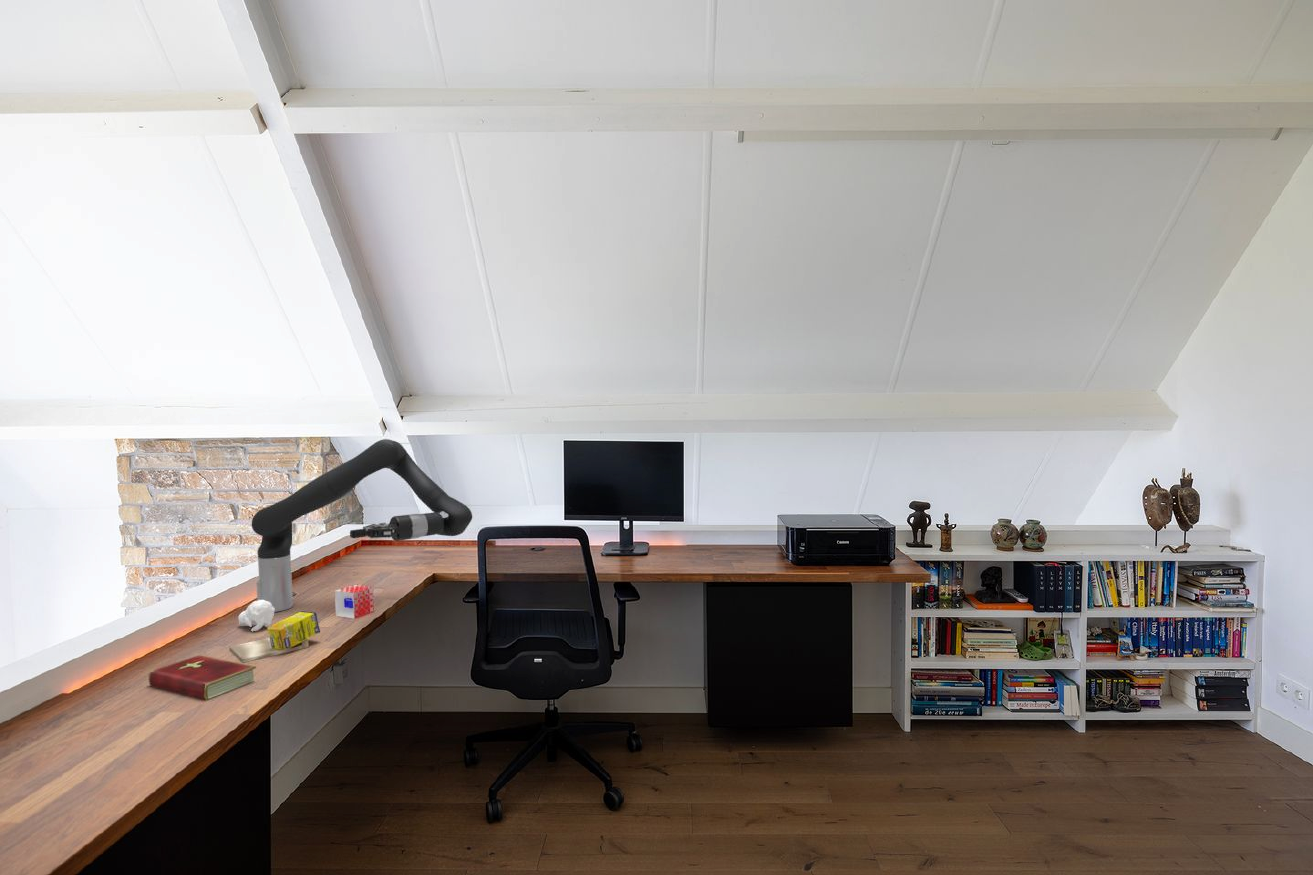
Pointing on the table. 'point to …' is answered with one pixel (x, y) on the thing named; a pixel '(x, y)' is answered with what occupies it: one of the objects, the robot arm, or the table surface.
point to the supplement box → (293, 630)
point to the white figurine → (257, 615)
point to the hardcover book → (201, 676)
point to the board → (261, 649)
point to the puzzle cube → (354, 601)
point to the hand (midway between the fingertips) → (351, 534)
